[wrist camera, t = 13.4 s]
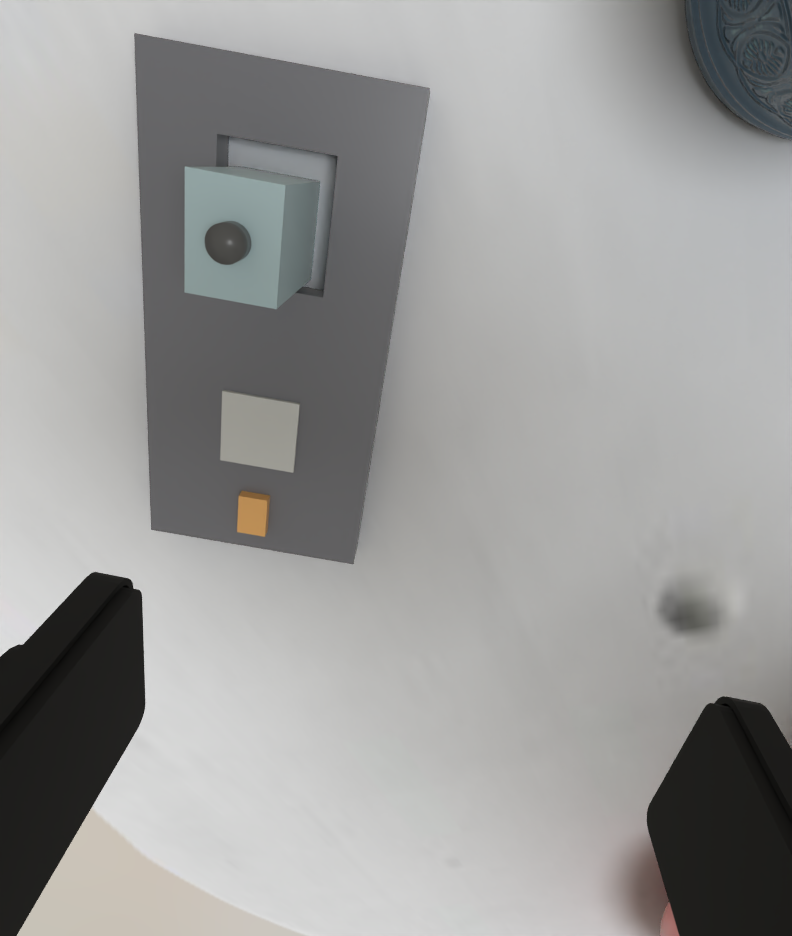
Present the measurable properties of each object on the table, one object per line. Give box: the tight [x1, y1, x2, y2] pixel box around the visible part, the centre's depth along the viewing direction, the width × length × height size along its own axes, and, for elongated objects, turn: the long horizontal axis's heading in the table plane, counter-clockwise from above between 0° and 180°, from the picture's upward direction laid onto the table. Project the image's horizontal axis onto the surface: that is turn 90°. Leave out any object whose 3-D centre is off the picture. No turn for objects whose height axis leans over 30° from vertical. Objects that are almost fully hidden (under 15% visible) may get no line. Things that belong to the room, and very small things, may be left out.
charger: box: [184, 166, 320, 309], centre depth 25 cm, size 4×4×8 cm
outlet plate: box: [134, 33, 430, 564], centre depth 30 cm, size 24×12×2 cm, turn 171°
